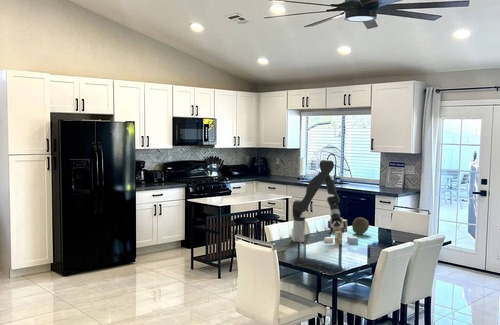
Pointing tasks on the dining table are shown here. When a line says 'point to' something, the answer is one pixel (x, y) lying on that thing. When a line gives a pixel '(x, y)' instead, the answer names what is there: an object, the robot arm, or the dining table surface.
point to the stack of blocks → (338, 227)
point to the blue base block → (352, 239)
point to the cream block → (328, 239)
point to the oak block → (338, 237)
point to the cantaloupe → (360, 225)
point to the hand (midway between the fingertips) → (337, 232)
